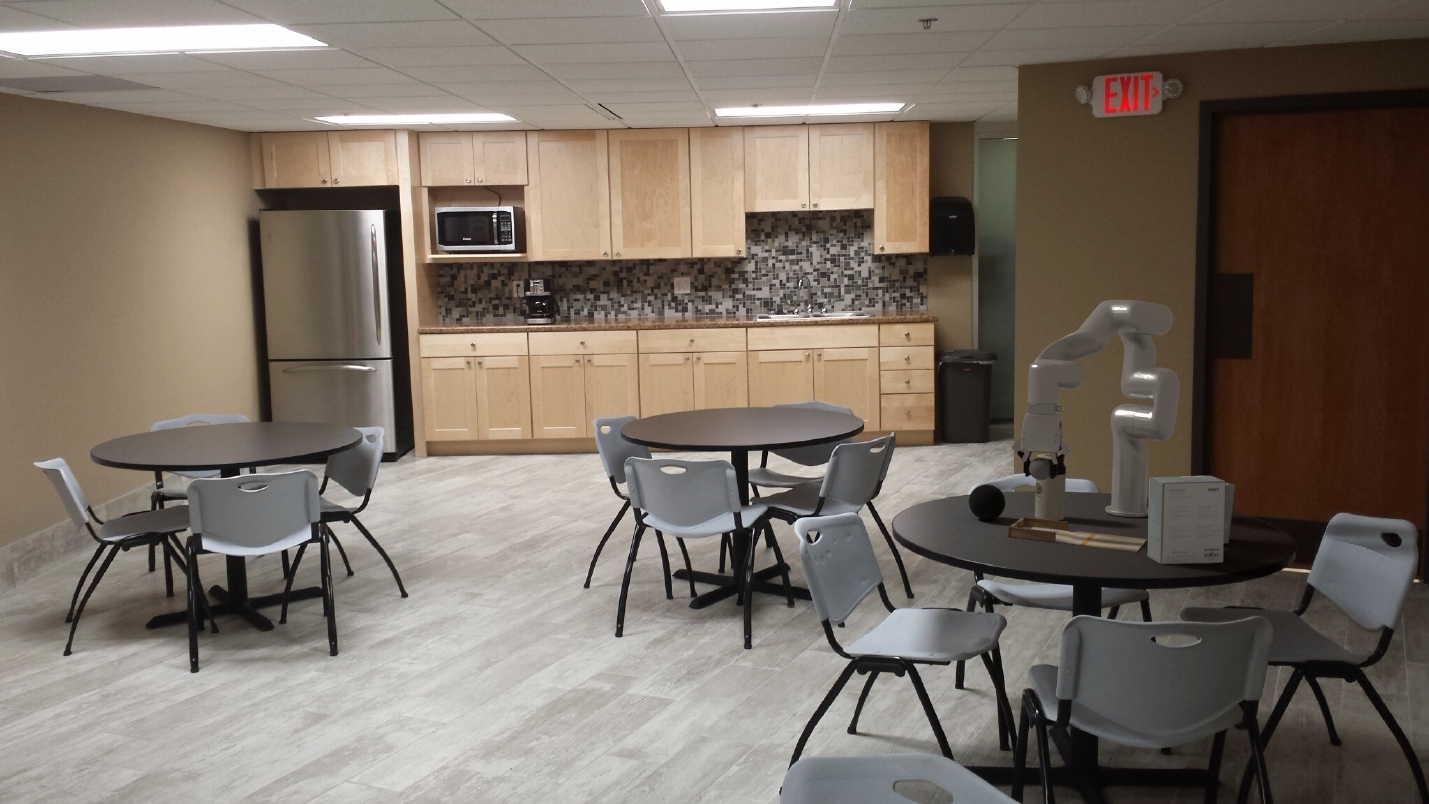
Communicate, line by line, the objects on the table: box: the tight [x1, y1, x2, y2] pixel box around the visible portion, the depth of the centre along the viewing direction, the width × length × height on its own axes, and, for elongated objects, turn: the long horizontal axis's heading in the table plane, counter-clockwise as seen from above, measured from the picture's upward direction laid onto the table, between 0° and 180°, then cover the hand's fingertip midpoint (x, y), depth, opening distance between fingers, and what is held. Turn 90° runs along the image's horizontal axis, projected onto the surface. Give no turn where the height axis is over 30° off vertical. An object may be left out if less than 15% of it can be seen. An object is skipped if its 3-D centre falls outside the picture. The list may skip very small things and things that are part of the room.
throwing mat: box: [1008, 516, 1148, 553], centre depth 280 cm, size 14×32×3 cm, turn 59°
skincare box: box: [1223, 482, 1236, 545], centre depth 276 cm, size 8×7×16 cm
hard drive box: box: [1147, 475, 1227, 565], centre depth 257 cm, size 16×8×20 cm, turn 92°
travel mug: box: [1034, 453, 1067, 521], centre depth 302 cm, size 8×8×18 cm
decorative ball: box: [968, 483, 1006, 521], centre depth 302 cm, size 10×10×10 cm
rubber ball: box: [1029, 457, 1051, 480], centre depth 283 cm, size 6×6×6 cm
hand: (1040, 476), depth 283 cm, fingers closed on rubber ball, 5 cm apart
